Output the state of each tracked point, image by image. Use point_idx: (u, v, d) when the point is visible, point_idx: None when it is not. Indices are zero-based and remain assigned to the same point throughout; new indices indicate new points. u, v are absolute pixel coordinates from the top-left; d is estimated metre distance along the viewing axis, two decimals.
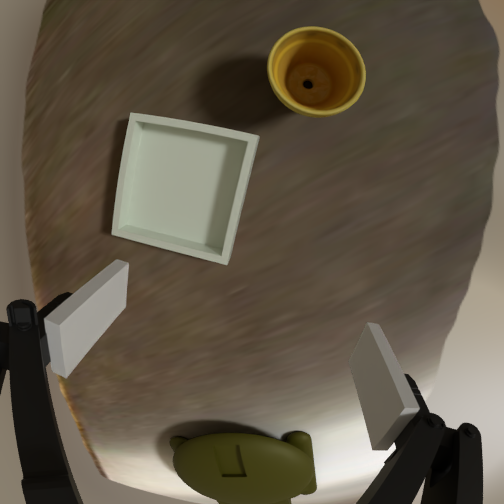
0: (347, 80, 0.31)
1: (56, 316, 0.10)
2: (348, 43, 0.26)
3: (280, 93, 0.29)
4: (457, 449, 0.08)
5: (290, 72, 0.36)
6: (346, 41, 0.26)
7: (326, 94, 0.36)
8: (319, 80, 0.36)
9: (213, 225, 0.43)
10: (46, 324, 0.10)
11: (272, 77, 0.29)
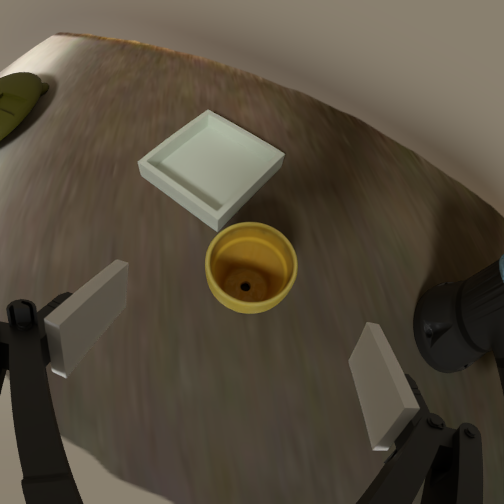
0: None
1: (56, 316, 0.10)
2: (268, 300, 0.33)
3: (242, 224, 0.37)
4: (457, 449, 0.08)
5: (262, 276, 0.44)
6: (271, 299, 0.33)
7: None
8: (245, 297, 0.42)
9: (170, 172, 0.50)
10: (46, 324, 0.10)
11: (258, 224, 0.37)
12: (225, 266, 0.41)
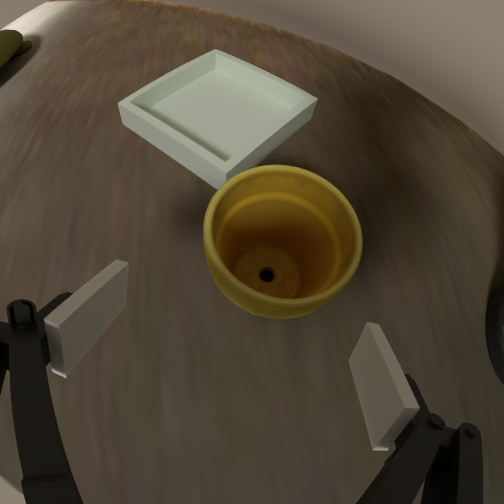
0: None
1: (56, 316, 0.10)
2: (318, 295, 0.18)
3: (267, 167, 0.22)
4: (457, 449, 0.08)
5: (293, 260, 0.28)
6: (322, 294, 0.18)
7: None
8: (267, 292, 0.27)
9: (161, 119, 0.35)
10: (46, 324, 0.10)
11: (294, 170, 0.22)
12: (236, 241, 0.26)
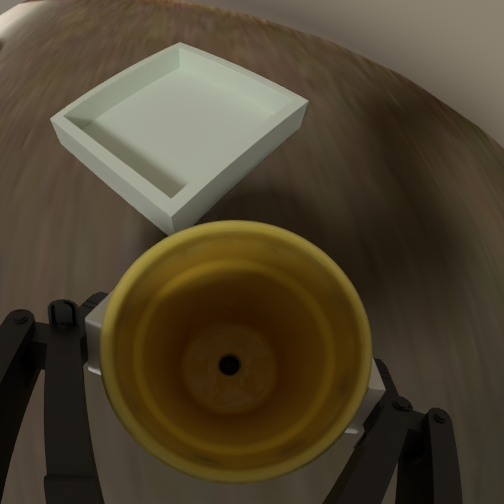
0: (193, 429, 0.12)
1: (97, 315, 0.11)
2: (288, 465, 0.09)
3: (212, 226, 0.13)
4: (428, 435, 0.09)
5: (267, 342, 0.19)
6: (296, 462, 0.09)
7: (195, 389, 0.18)
8: (229, 390, 0.18)
9: (104, 135, 0.26)
10: (87, 323, 0.11)
11: (259, 228, 0.13)
12: (181, 326, 0.17)
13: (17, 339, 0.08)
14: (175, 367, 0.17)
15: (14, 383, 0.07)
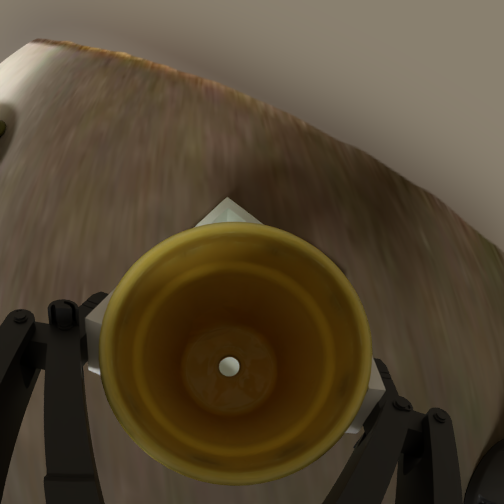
0: (193, 431, 0.12)
1: (97, 315, 0.11)
2: (287, 466, 0.09)
3: (212, 227, 0.13)
4: (428, 435, 0.09)
5: (267, 343, 0.19)
6: (295, 463, 0.09)
7: (195, 390, 0.18)
8: (228, 391, 0.18)
9: None
10: (87, 323, 0.11)
11: (259, 230, 0.13)
12: (180, 327, 0.17)
13: (17, 339, 0.08)
14: (175, 368, 0.17)
15: (14, 383, 0.07)
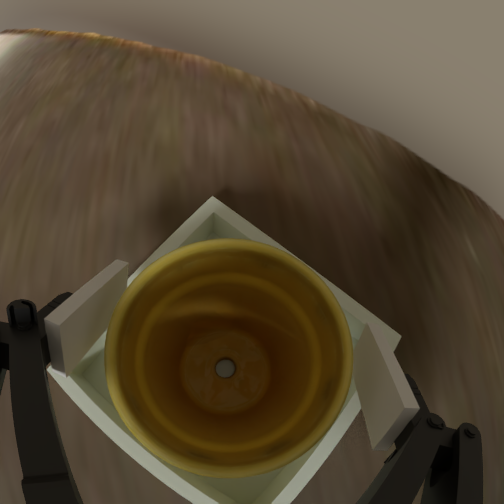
0: (190, 428, 0.14)
1: (56, 316, 0.10)
2: (273, 462, 0.10)
3: (205, 244, 0.14)
4: (457, 449, 0.08)
5: (261, 347, 0.20)
6: (281, 459, 0.10)
7: (193, 391, 0.19)
8: (224, 391, 0.19)
9: None
10: (46, 324, 0.10)
11: (250, 246, 0.14)
12: (179, 332, 0.18)
13: None
14: (174, 370, 0.18)
15: None
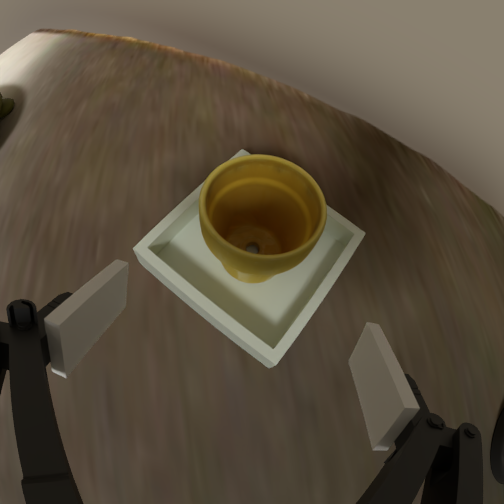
0: None
1: (56, 316, 0.10)
2: (289, 252, 0.23)
3: (250, 156, 0.27)
4: (457, 449, 0.08)
5: (274, 236, 0.33)
6: (292, 251, 0.23)
7: None
8: None
9: (187, 261, 0.32)
10: (46, 324, 0.10)
11: (272, 158, 0.27)
12: (226, 219, 0.31)
13: None
14: None
15: None
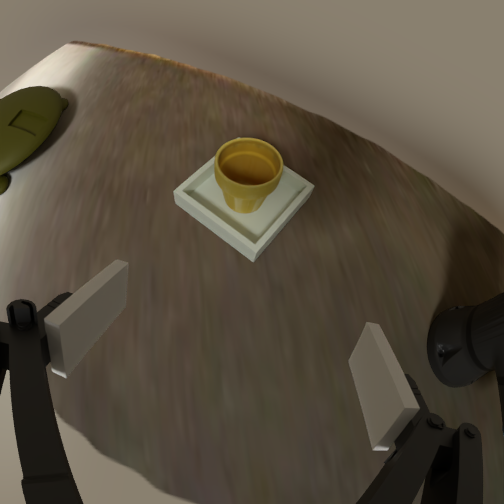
0: None
1: (56, 316, 0.10)
2: (261, 184, 0.44)
3: (242, 138, 0.48)
4: (457, 449, 0.08)
5: None
6: (263, 184, 0.44)
7: None
8: None
9: (204, 201, 0.53)
10: (46, 324, 0.10)
11: (254, 139, 0.48)
12: (228, 175, 0.52)
13: None
14: None
15: None
